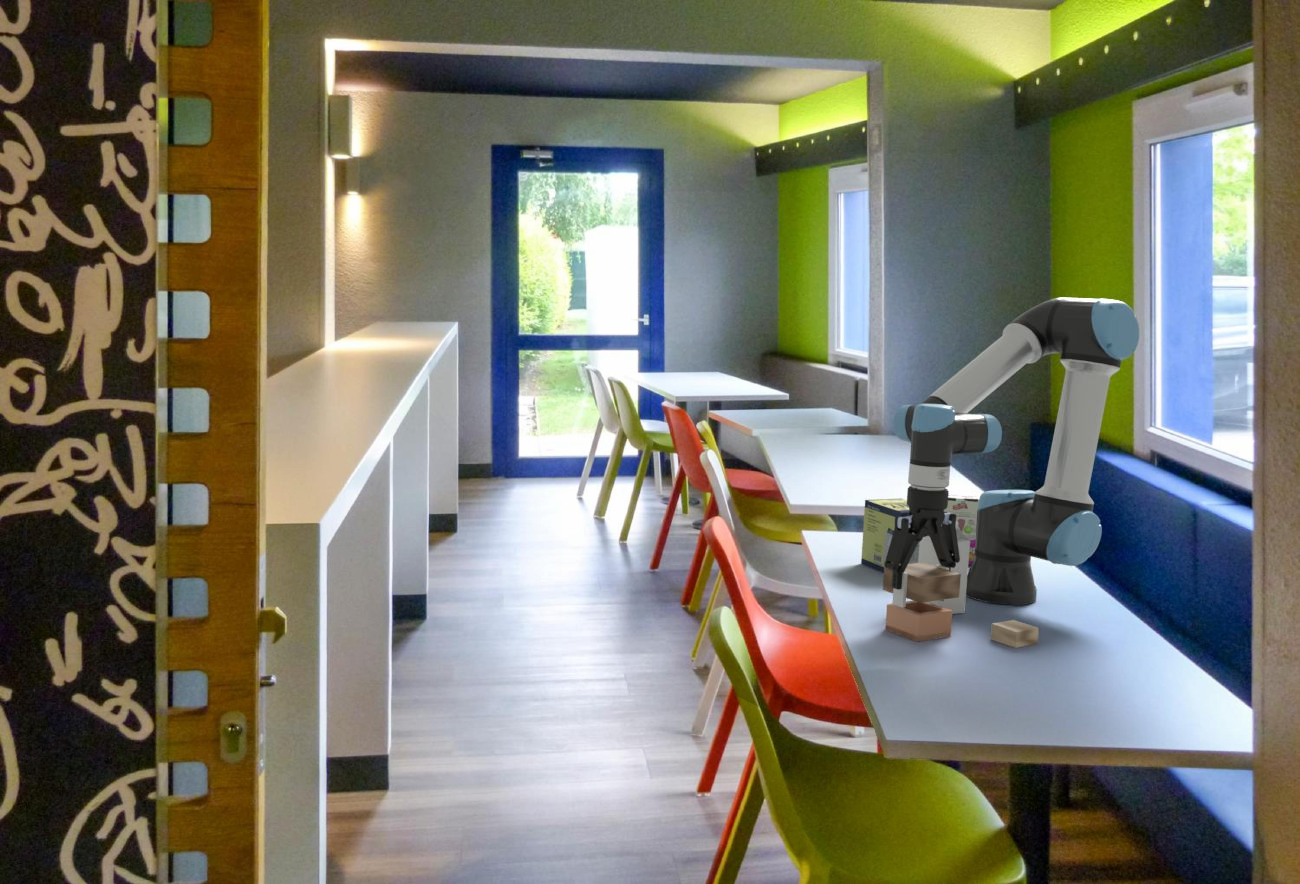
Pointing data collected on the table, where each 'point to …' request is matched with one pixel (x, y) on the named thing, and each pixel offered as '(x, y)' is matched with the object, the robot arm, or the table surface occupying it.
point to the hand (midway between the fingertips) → (919, 602)
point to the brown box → (926, 582)
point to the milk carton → (930, 557)
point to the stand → (1014, 633)
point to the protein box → (881, 531)
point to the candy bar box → (965, 518)
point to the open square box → (919, 620)
